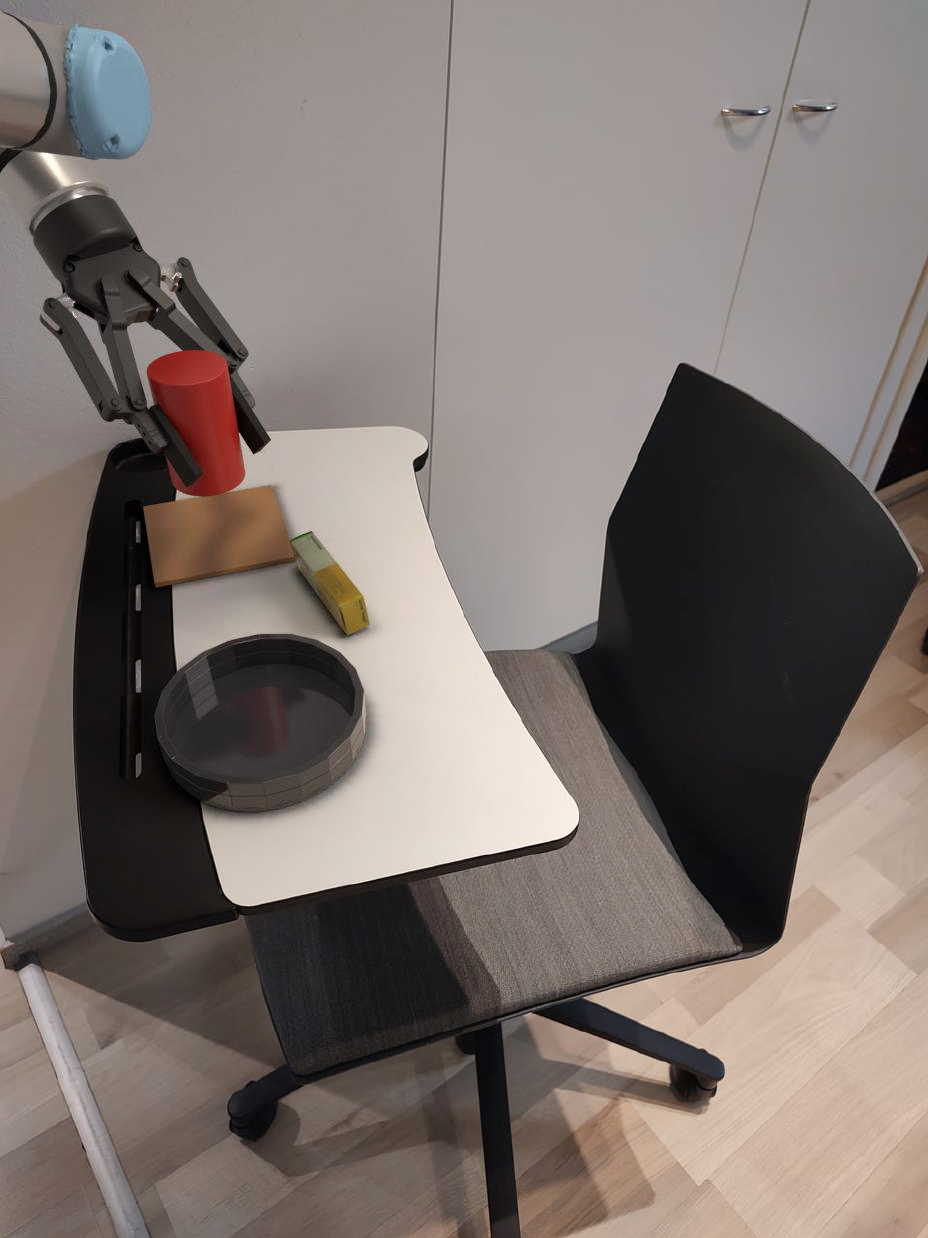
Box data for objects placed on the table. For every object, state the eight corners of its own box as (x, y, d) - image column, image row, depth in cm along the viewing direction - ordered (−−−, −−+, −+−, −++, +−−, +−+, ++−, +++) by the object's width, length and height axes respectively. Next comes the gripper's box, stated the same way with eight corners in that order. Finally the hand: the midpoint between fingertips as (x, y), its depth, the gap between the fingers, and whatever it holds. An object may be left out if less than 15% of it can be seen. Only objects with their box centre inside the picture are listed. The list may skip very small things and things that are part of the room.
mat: (155, 587, 87) (154, 583, 87) (144, 510, 97) (142, 506, 96) (296, 560, 91) (295, 556, 90) (271, 489, 101) (270, 484, 100)
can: (175, 502, 76) (149, 389, 69) (168, 464, 80) (143, 354, 73) (251, 489, 77) (232, 378, 70) (239, 453, 82) (221, 345, 75)
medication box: (296, 569, 90) (287, 538, 87) (320, 559, 91) (312, 528, 88) (346, 637, 82) (338, 605, 79) (372, 625, 83) (365, 593, 80)
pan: (175, 836, 65) (166, 808, 63) (155, 686, 77) (147, 657, 75) (388, 780, 70) (387, 751, 68) (339, 645, 81) (336, 616, 79)
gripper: (160, 217, 81) (298, 437, 84) (-49, 274, 70) (119, 525, 73) (184, 166, 75) (332, 404, 78) (-41, 219, 63) (142, 495, 66)
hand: (229, 462), depth 75 cm, fingers closed on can, 6 cm apart
